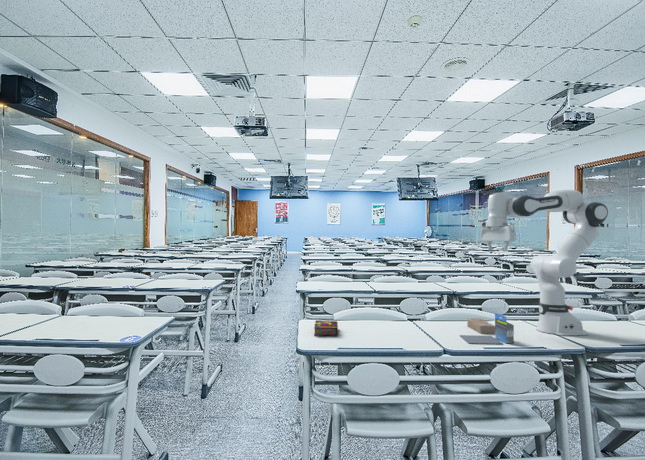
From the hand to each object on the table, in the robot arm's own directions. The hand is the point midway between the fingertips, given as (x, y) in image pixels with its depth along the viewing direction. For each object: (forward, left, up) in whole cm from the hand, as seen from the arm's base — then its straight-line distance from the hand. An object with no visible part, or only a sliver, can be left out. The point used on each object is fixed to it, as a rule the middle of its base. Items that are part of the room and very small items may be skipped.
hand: (497, 250), depth 187 cm
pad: (+14, +15, -41) cm, 46 cm away
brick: (+6, -5, -42) cm, 43 cm away
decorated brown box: (+87, +7, -42) cm, 96 cm away
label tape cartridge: (+4, +16, -42) cm, 45 cm away
